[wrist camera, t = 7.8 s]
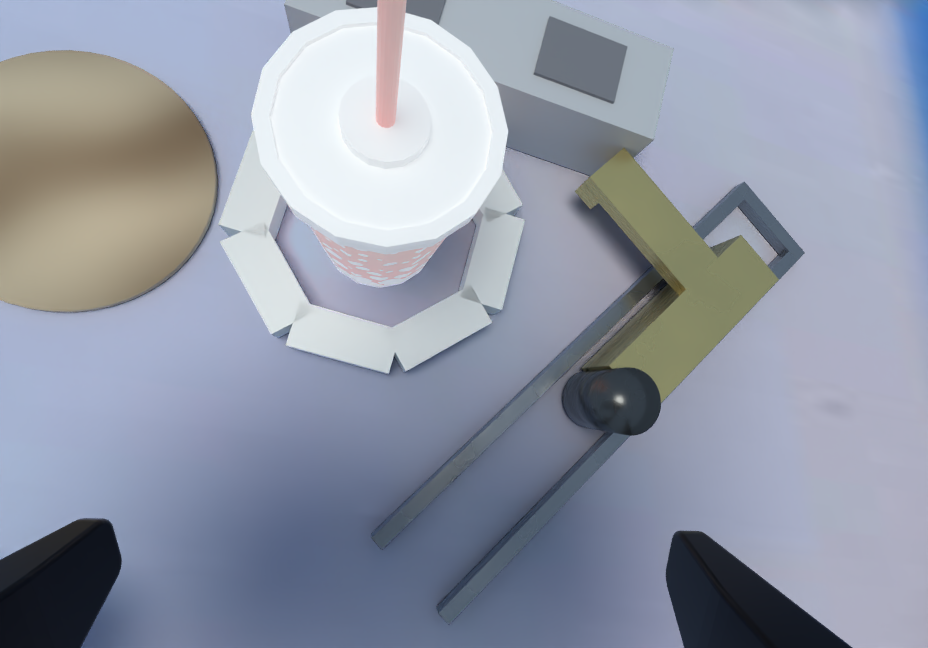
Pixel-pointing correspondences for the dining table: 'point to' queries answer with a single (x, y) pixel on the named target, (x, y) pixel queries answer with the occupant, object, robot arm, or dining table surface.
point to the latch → (660, 304)
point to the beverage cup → (379, 136)
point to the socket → (497, 230)
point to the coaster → (96, 181)
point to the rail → (538, 386)
